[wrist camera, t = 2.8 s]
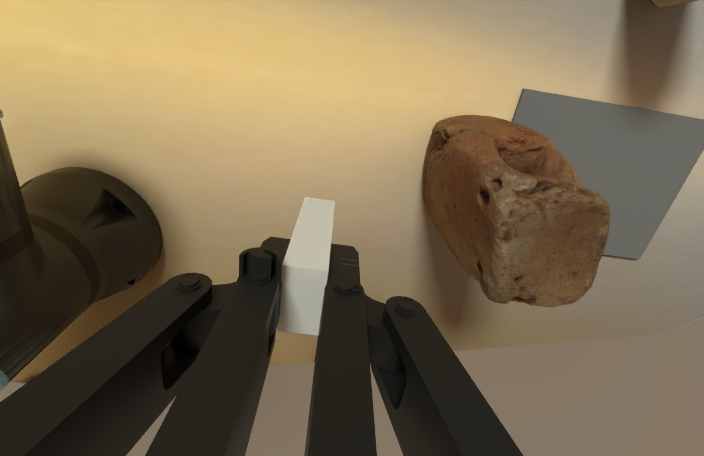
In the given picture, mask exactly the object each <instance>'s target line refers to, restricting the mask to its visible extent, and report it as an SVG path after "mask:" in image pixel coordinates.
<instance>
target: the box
mask: <svg viewBox="0 0 704 456" xmlns="http://www.w3.org/2000/svg"><path fill="white" fill-rule="evenodd" d="M651 1H652V2H653V3H654V4H655V5H656V6H657V7H659V8H661V7H667V6H671V5H677V4H682V3H687V2H693V1H698V0H651Z"/></svg>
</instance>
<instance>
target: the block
mask: <svg viewBox="0 0 704 456" xmlns="http://www.w3.org/2000/svg"><path fill="white" fill-rule="evenodd" d="M423 194H424V201H425V204H426V207H427V209H428V212H429V214H430V216H431V218H432V220H433V222H434V224H435V226H436V227H437V229H438V231H439V233H440V234H441V235H442V237H443V238H444V240H445V242H446V243H447V245H448V247H449V248H450V250H451V252H452V253H453V255H454V256H455V257H456V259H457V260H458V261H459V262H460V264H461V266H462V267H463V268H464V269H465V270H466V272H467V273H468V275H470V276H471V277H473V278H474V279H476V280H477V281H479V283H480V286H481V288H482V291H483V292H484V294H485V295H486V296H487V298H488V299H489V300H491V301H494V302H497V303H503V304H507V303H509V302H510V301H516V302H521V303H526V304H530V305H534V306H545V307H555V306H560V305H566V304H571V303H574V302H577V301H578V300H579V299H580V298H582V297H583V296H584V294H585V293H586V292H587V291H588V290H589V289H590V288H591V286H592V284H593V281H594V278H595V275H596V273H597V269H598V265H599V262H600V259H601V257H602V255H603V253H604V249H605V246H606V242H607V238H608V233H609V226H610V208H609V205H608V202H607V201H606V199H605V198H603V197H602V196H601V195H600V194H599V193H598V192H596V191H592V190H588V189H586V188H585V187H584V186H583V185H582V184H580V183H579V180H578V173H577V172H576V171H575V170H574V169H573V168H572V167H571V165H570V163H569V162H568V161H567V160H566V159H565V158H564V156H563V155H562V154H561V153H560V152H559V151H558V150H557V149H556V146H555V145H554V144H553V143H552V142H551V141H550V140H549V139H548V138H547V137H546V136H544V135H542V134H541V133H539V132H537V131H535V130H533V129H530V128H527V127H525V126H523V125H520V124H517V123H513V122H510V121H507V120H503V119H499V118H495V117H489V116H479V115H463V116H456V117H451V118H447V119H444V120H441V121H439V122H437V123H436V124H435V126H434V128H433V130H432V135H431V137H430V141H429V144H428V147H427V152H426V157H425V163H424V171H423Z"/></svg>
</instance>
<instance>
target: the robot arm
mask: <svg viewBox="0 0 704 456" xmlns="http://www.w3.org/2000/svg"><path fill="white" fill-rule="evenodd" d="M0 118H3V113H2V111H1V110H0ZM334 205H335V201H330V200H323V199H316V198H308V197H305V199H304V202H303V205H302V208H301V211H300V214H299V217H298V220H297V223H296V226H295V228H294V231H293V234H292V237H291V239H285V238H277V237H270V238H268V239H267V240H265V241H263V243H262V245H261V247H260V248H259V247H257V248H250V249H247V250H245V251H243V252H242V253H241V254H240V255H239V278H238V279H237V281H236V282H234V283H230V284H222V285H212V280H211V279H210V278H209V277H208V276H206V275H204V274H199V273H185V274H181V275H177V276H175V277H173V278H171V279H170V280H168V281H167V282H165V283H164V284H163V285H161V286H160V287H159V288H157V289H156V290H154V291H153V292H152V293H150V294H149V295H148V296H146V297H145V298H143V299H142V300H141V301H139V302H138V303H137V304H135V305H134V306H132V307H131V308H130V309H128V310H127V311H126V312H124V313H123V314H121V315H120V316H119V317H117V318H116V319H114V320H113V321H112V322H110V323H109V324H108V325H106V326H105V327H103V328H102V329H101V330H99V331H98V332H97V333H95V334H94V335H92V336H91V337H90V338H88V339H87V340H86V341H84V342H83V343H81V344H80V345H79V346H77V347H76V348H74V349H73V350H72V351H70V352H69V353H68V354H66V355H65V356H63V357H62V358H61V359H59V360H58V361H57V362H55V363H54V364H52V365H51V366H50V367H48V368H47V369H46V370H44V371H43V372H41V373H40V374H39V375H37V376H36V377H35V378H33V379H32V380H30V381H29V382H28V383H26V384H25V385H23V386H22V387H21V388H19V389H18V390H17V391H15V392H14V393H13V394H11V395H10V396H8V397H7V398H6V399H4V400H3V401H1V402H0V456H126V455H127V453H128V452H129V451H130V450H131V449H132V448H133V446H134V445H135V444H136V443H137V442H138V440H139V439H140V438H141V437H142V435H144V433H145V432H146V431H147V430H148V429H149V427H150V426H151V425H152V424H153V423H154V421H155V420H156V419H157V418H158V417H159V415H160V414H161V413H162V412H163V411H164V409H165V408H166V407H167V406H168V404H169V403H170V402H171V401H172V400H173V399H174V397H175V396H176V395H177V396H176V398H175V400H174V402H173V404H172V406H171V407H170V409H169V411H168V413H167V415H166V417H165V419H164V421H163V423H162V425H161V426H160V428H159V430H158V432H157V434H156V436H155V438H154V440H153V442H152V444H151V445H150V447H149V450H148V451H147V453H146V455H145V456H245V453H246V449H247V445H248V442H249V438H250V434H251V430H252V426H253V422H254V419H255V415H256V411H257V408H258V404H259V400H260V396H261V392H262V388H263V385H264V381H265V377H266V373H267V369H268V366H269V362H270V358H271V354H272V351H273V347H274V343H275V333H276V327H277V331H282V332H292V333H301V334H310V335H318V342H317V349H316V356H315V367H314V376H313V385H312V394H311V403H310V411H309V421H308V429H307V438H306V447H305V456H377V452H376V438H375V425H374V413H373V400H372V387H371V374H370V364H371V368H372V372H373V375H374V377H375V380H376V383H377V385H378V388H379V391H380V393H381V396H382V399H383V402H384V404H385V407H386V409H387V412H388V415H389V418H390V420H391V423H392V426H393V429H394V431H395V434H396V436H397V439H398V442H399V445H400V447H401V450H402V453H403V455H404V456H523V455H522V453H521V452H520V450H519V449H518V447H517V446H516V444H515V443H514V441H513V440H512V438H511V437H510V435H509V434H508V432H507V431H506V429H505V428H504V426H503V425H502V423H501V422H500V421H499V419H498V417H497V416H496V415H495V413H494V412H493V410H492V408H491V407H490V405H489V404H488V403H487V401H486V400H485V398H484V396H483V395H482V394H481V392H480V391H479V389H478V388H477V386H476V385H475V383H474V382H473V380H472V379H471V377H470V376H469V374H468V373H467V371H466V370H465V368H464V367H463V365H462V364H461V362H460V361H459V359H458V358H457V356H456V355H455V353H454V352H453V350H452V349H451V347H450V346H449V344H448V343H447V341H446V340H445V338H444V337H443V336H442V334H441V333H440V331H439V330H438V328H437V327H436V325H435V324H434V322H433V321H432V319H431V318H430V316H429V315H428V313H427V312H426V310H425V309H424V307H423V306H422V305H421V304H420V303H418V302H417V301H415V300H413V299H411V298H408V297H403V296H395V297H391V298H390V299H388V300H387V302H386V304H384V303H381V302H378V301H376V300H373V299H371V298H370V297H368V296H367V295H366V294H364V289H363V287H362V286H361V285H360V271H359V256H358V252H357V251H356V249H355V248H354V247H353V246H346V245H338V244H331V238H332V227H333V216H334ZM161 247H162V238H161V232H160V228H159V225H158V222H157V220H156V218H155V216H154V214H153V212H152V211H151V209H150V208H149V206H148V205H147V204H146V202H145V201H144V200H143V199H142V198H141V197H140V196H139V195H138V194H137V193H136V192H135V191H134V190H133V189H131V188H130V187H129V186H127V185H126V184H124V183H123V182H121V181H120V180H118V179H116V178H114V177H112V176H110V175H108V174H105V173H103V172H100V171H96V170H92V169H87V168H80V167H68V168H61V169H57V170H53V171H50V172H48V173H45V174H42V175H39V176H36V177H34V178H32V179H31V180H29V181H27V182H26V183H24V184H23V185H22V186H21V187H20V186H19V182H18V179H17V176H16V172H15V169H14V165H13V162H12V158H11V155H10V151H9V148H8V144H7V141H6V138H5V134H4V131H3V127H2V124H1V120H0V390H2V389H4V388H5V386H6V385H7V384H8V383H9V382H10V381H11V380H12V379H13V378H14V377H15V376H16V375H17V374H18V373H19V372H20V371H21V370H22V369H23V368H24V367H25V366H26V365H28V364H29V363H30V362H31V361H32V360H33V359H34V358H35V357H36V356H37V355H38V354H39V353H40V352H41V351H42V350H43V349H44V348H45V347H47V346H48V345H49V344H50V343H51V342H52V341H53V340H54V339H55V338H56V337H57V336H58V335H59V334H60V333H61V332H62V331H63V330H64V329H65V328H67V327H68V326H69V325H70V324H71V323H72V322H73V321H74V320H75V319H76V318H77V317H78V316H79V315H80V314H81V313H82V312H83V311H84V310H85V309H87V308H88V307H89V306H90V305H91V304H92V303H95V302H97V301H99V300H102V299H104V298H106V297H109V296H111V295H113V294H115V293H117V292H119V291H122V290H125V289H127V288H129V287H131V286H133V285H134V284H136V283H137V282H139V281H140V280H141V279H142V278H143V277H144V276H145V275H146V274H147V273H148V272H149V271H150V270H151V269H152V268H153V267H154V265H155V264H156V262H157V261H158V258H159V256H160V252H161ZM277 324H278V325H277Z"/></svg>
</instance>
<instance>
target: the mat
mask: <svg viewBox="0 0 704 456" xmlns="http://www.w3.org/2000/svg"><path fill="white" fill-rule="evenodd" d="M512 122H513V123H517V124H520V125H523V126H525V127H527V128H530V129H533V130H535V131H537V132H539V133H541V134H542V135H544V136H546V137H547V138H548V139H549V140H550V141H551V142H552V143H553V144H554V145H555V146H556V149H557V150H558V151H559V152H560V153H561V154H562V155H563V156H564V158H565V159H566V160H567V161H568V162H569V163H570V165H571V167H572V168H573V169H574V170H575V171H576V172H577V173H578V180H579V183H580V184H582V185H583V186H584V187H585V188H586V189H588V190H592V191H596V192H598V193H599V194H600V195H601V196H602V197H603V198H605V199H606V201H607V202H608V205H609V208H610V226H609V233H608V238H607V242H606V246H605V249H604V253H603V255H610V256H618V257H626V258H633V259H640V258H641V256H642V254H643V253H644V251H645V249H646V248H647V246H648V244H649V242H650V241H651V239H652V237H653V236H654V234H655V232H656V230H657V229H658V227H659V225H660V224H661V222H662V220H663V218H664V217H665V215H666V213H667V212H668V210H669V208H670V206H671V205H672V203H673V201H674V200H675V198H676V196H677V194H678V193H679V191H680V189H681V188H682V186H683V184H684V182H685V181H686V179H687V177H688V175H689V174H690V172H691V170H692V169H693V167H694V165H695V163H696V162H697V160H698V158H699V157H700V155H701V153H702V151H703V150H704V120H703V119H697V118H691V117H686V116H680V115H674V114H668V113H662V112H657V111H651V110H645V109H639V108H633V107H628V106H622V105H616V104H610V103H604V102H598V101H593V100H587V99H581V98H575V97H569V96H564V95H558V94H552V93H546V92H540V91H535V90H529V89H523V90H522V93H521V96H520V99H519V102H518V105H517V108H516V111H515V114H514V117H513V119H512Z"/></svg>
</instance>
